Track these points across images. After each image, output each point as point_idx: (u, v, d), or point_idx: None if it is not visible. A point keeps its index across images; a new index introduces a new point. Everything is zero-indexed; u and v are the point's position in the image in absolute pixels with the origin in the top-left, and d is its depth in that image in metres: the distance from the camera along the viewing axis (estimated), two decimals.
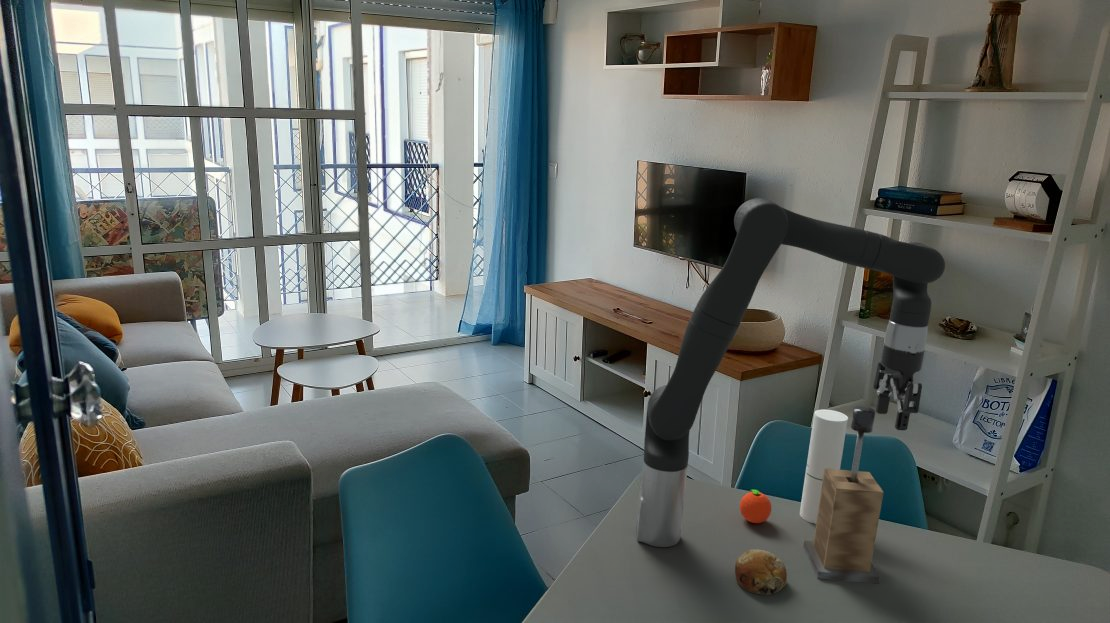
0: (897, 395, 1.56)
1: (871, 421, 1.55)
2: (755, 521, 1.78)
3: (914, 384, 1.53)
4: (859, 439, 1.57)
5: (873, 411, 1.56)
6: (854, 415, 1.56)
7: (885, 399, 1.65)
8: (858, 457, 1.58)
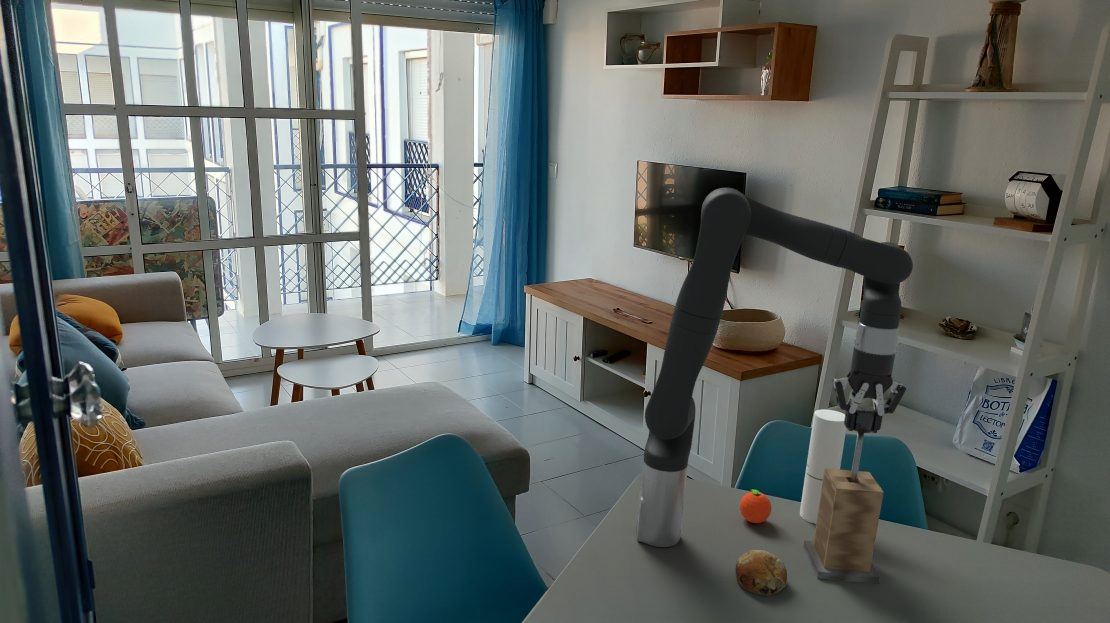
0: (883, 400, 1.54)
1: (871, 422, 1.55)
2: (755, 521, 1.78)
3: (903, 386, 1.54)
4: (859, 439, 1.57)
5: (873, 411, 1.56)
6: None
7: None
8: (858, 457, 1.58)
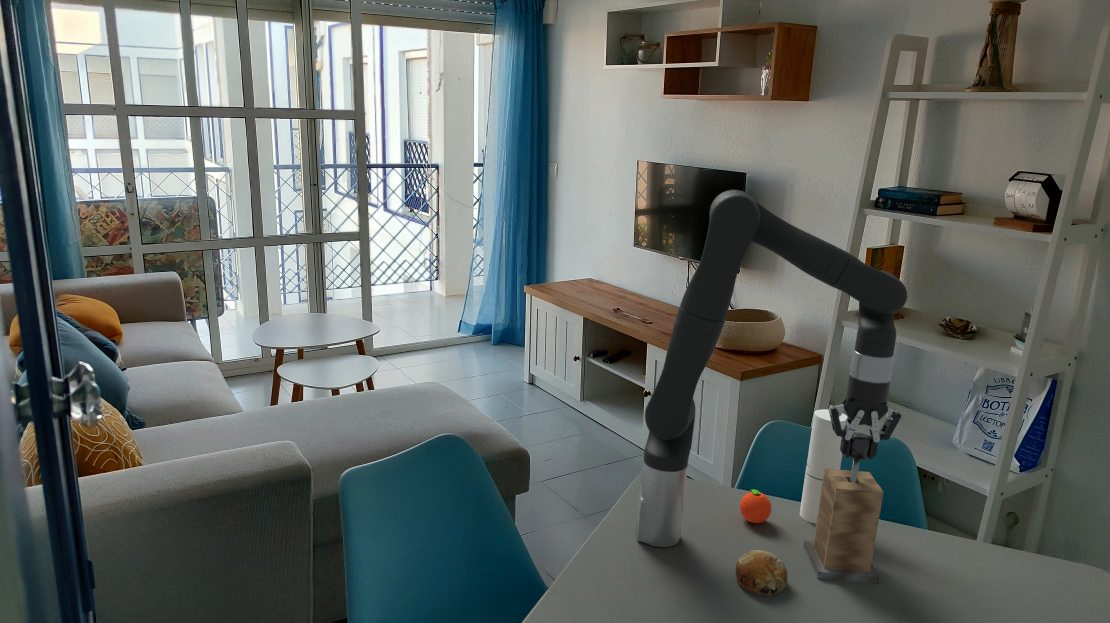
0: (878, 427, 1.55)
1: (866, 448, 1.56)
2: (755, 521, 1.78)
3: (899, 413, 1.56)
4: (855, 465, 1.59)
5: (869, 438, 1.57)
6: None
7: None
8: None
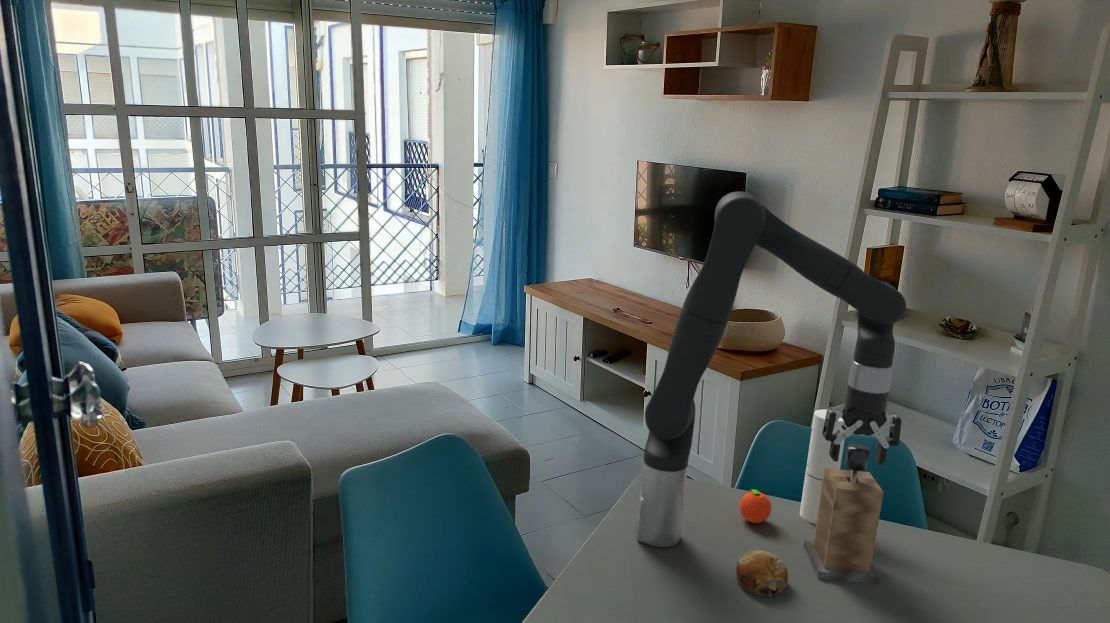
0: (882, 434, 1.56)
1: (864, 460, 1.57)
2: (755, 521, 1.78)
3: (898, 416, 1.56)
4: (853, 476, 1.59)
5: (867, 449, 1.58)
6: (848, 453, 1.58)
7: None
8: None
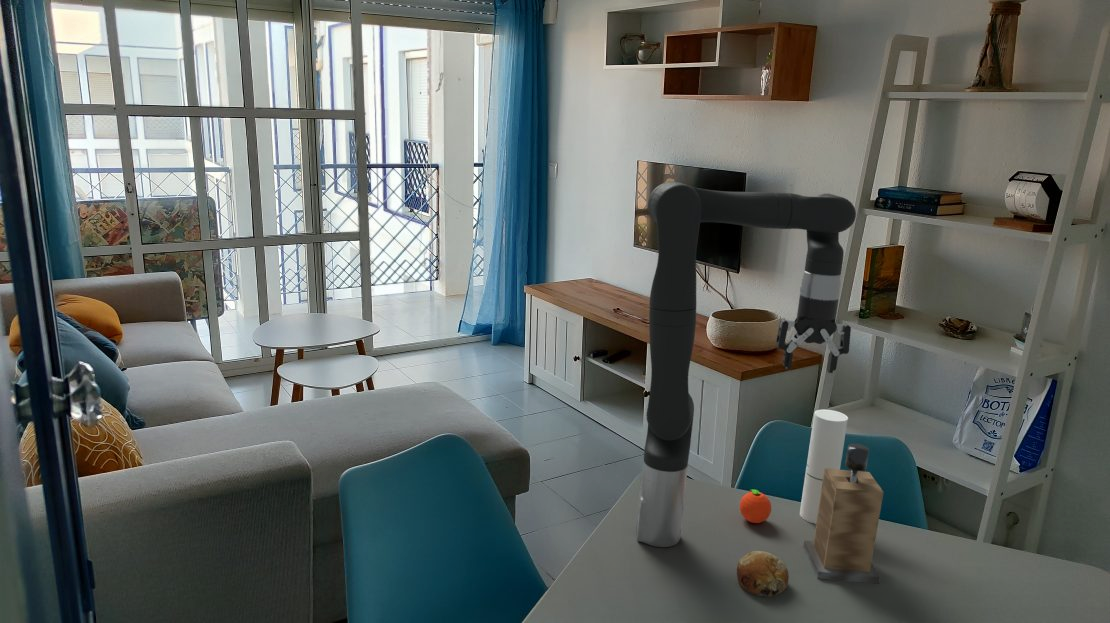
0: (833, 342, 1.62)
1: (864, 460, 1.57)
2: (755, 521, 1.78)
3: (848, 325, 1.62)
4: (853, 476, 1.59)
5: (867, 449, 1.58)
6: (848, 453, 1.58)
7: None
8: None
